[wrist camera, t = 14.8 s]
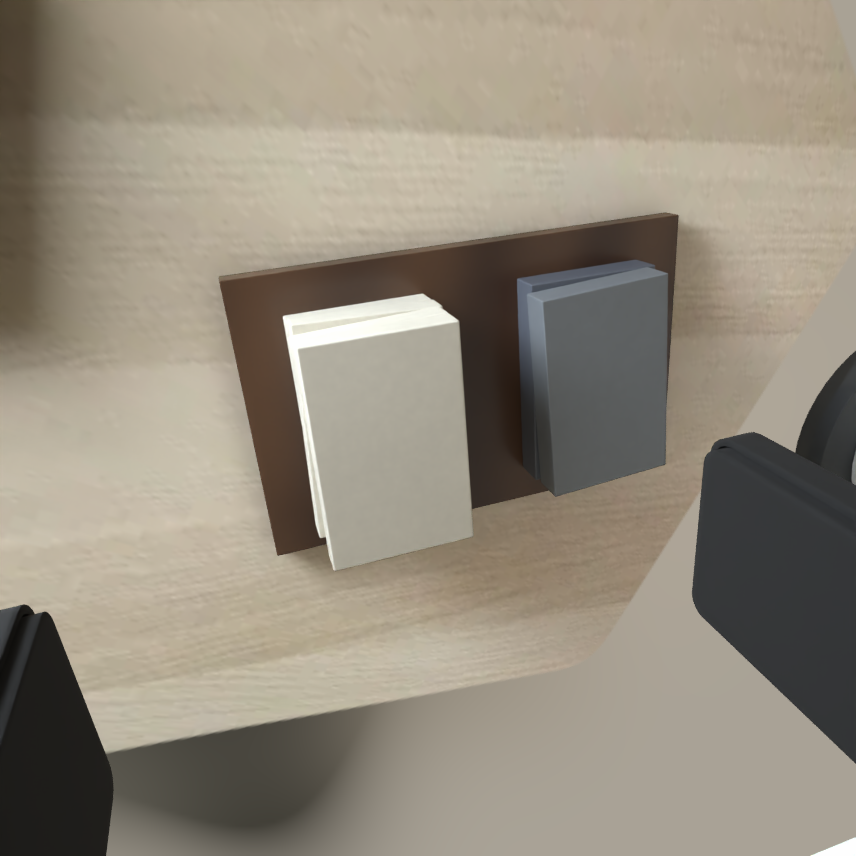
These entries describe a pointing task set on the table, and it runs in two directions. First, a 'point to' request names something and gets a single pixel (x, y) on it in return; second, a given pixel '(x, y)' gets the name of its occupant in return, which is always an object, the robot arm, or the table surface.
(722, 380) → the table surface
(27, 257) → the table surface
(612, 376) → the grey stack
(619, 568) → the table surface
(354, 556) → the white book
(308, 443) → the white stack
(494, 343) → the shelf board
